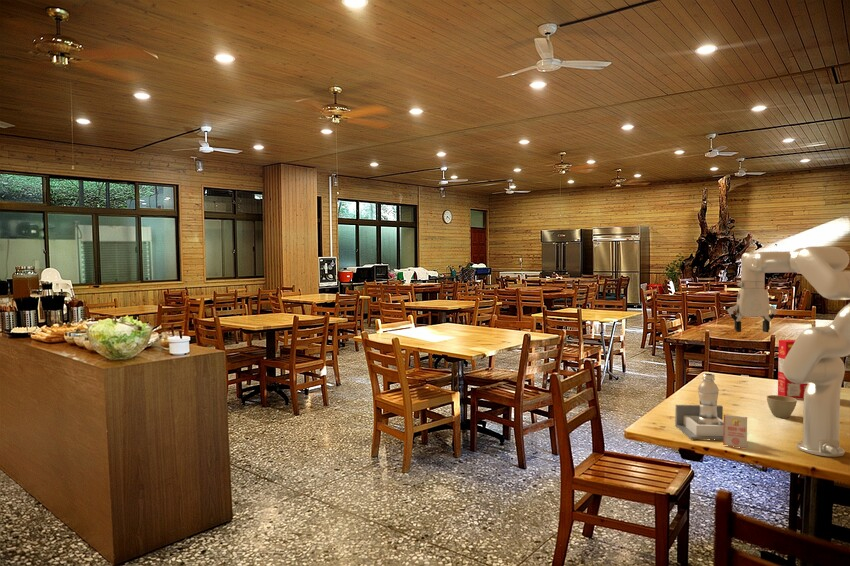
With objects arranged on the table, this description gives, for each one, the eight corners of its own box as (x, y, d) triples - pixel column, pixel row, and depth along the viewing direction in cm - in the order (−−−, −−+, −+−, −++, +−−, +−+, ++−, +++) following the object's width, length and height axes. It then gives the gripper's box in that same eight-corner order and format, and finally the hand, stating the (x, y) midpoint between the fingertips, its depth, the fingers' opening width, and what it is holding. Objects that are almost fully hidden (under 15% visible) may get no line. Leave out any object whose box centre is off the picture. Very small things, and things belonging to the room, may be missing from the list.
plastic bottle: (721, 433, 198) (721, 376, 197) (700, 432, 200) (700, 375, 199) (715, 428, 205) (716, 372, 204) (695, 427, 206) (696, 372, 205)
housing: (740, 441, 194) (740, 417, 193) (691, 440, 195) (691, 416, 195) (720, 427, 209) (720, 405, 209) (675, 426, 211) (675, 404, 211)
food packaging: (811, 395, 255) (812, 339, 254) (819, 398, 249) (820, 341, 248) (777, 395, 255) (778, 339, 254) (784, 398, 250) (786, 341, 249)
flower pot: (782, 420, 216) (782, 402, 216) (760, 414, 226) (760, 396, 226) (802, 418, 219) (803, 400, 219) (780, 412, 229) (780, 394, 228)
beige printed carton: (723, 442, 192) (723, 413, 192) (746, 445, 189) (747, 415, 188) (723, 446, 189) (723, 416, 188) (746, 449, 186) (747, 418, 185)
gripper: (732, 286, 209) (731, 333, 210) (782, 286, 207) (781, 333, 208) (723, 285, 216) (723, 330, 217) (772, 285, 215) (771, 330, 216)
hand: (751, 331), depth 213 cm, fingers open, 9 cm apart
